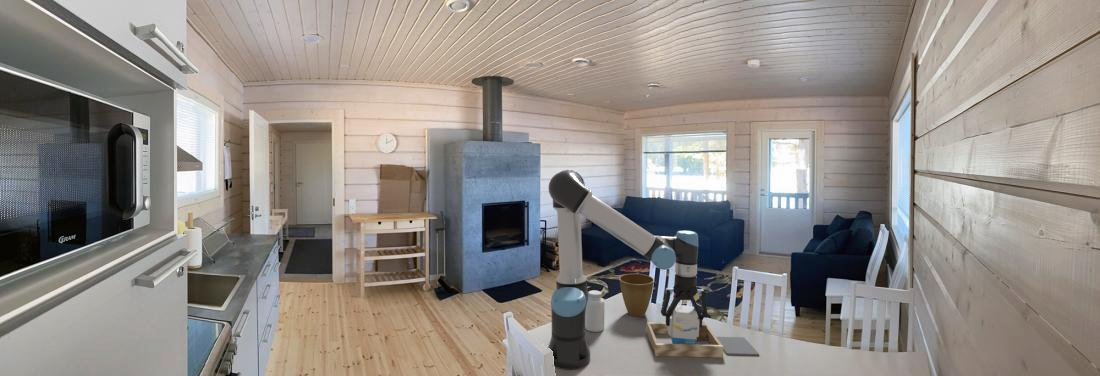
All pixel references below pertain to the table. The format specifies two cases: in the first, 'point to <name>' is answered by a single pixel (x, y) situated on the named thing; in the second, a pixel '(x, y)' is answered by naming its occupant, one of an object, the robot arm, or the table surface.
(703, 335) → the walnut block
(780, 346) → the table surface
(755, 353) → the grey mat
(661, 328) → the frame
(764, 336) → the table surface
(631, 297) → the plant pot
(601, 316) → the white bottle
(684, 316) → the ink box
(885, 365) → the table surface
